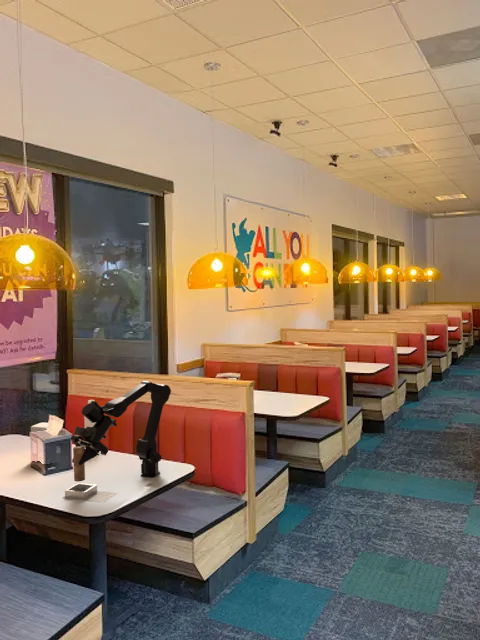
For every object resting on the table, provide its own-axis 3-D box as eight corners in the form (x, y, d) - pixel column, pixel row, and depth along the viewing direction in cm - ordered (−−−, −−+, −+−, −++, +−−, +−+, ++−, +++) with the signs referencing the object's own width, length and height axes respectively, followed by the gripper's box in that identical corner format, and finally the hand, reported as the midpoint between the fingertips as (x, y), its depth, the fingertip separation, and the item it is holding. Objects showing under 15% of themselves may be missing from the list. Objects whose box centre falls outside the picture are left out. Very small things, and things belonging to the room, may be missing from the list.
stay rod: (85, 477, 219) (84, 446, 218) (84, 481, 215) (82, 448, 214) (75, 478, 219) (74, 446, 218) (73, 481, 215) (72, 449, 214)
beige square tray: (97, 491, 219) (97, 484, 219) (85, 499, 211) (84, 492, 211) (77, 489, 222) (77, 483, 222) (65, 497, 214) (64, 490, 213)
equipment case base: (117, 496, 217) (117, 492, 217) (104, 506, 208) (104, 502, 208) (76, 492, 222) (76, 488, 222) (61, 501, 213) (61, 498, 213)
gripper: (73, 414, 225) (49, 448, 217) (100, 421, 212) (75, 457, 205) (91, 430, 231) (68, 463, 223) (118, 437, 219) (95, 472, 211)
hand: (76, 463), depth 216 cm, fingers closed on stay rod, 4 cm apart
